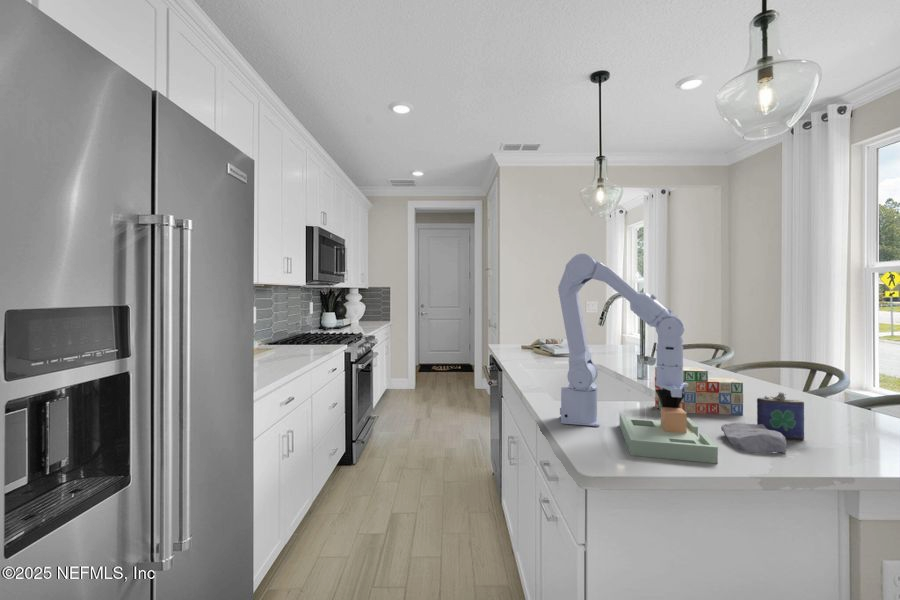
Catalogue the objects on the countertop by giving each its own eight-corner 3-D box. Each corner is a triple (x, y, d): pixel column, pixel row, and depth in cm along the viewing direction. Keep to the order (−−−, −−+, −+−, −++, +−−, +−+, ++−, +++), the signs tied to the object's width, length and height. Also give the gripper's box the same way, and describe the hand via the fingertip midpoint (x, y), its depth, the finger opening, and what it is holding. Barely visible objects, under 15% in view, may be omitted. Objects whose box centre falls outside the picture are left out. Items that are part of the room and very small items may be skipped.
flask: (801, 437, 99) (801, 392, 99) (807, 441, 96) (807, 394, 96) (755, 433, 102) (755, 389, 101) (760, 437, 99) (760, 392, 99)
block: (664, 431, 97) (665, 412, 97) (660, 425, 102) (660, 406, 101) (686, 433, 96) (686, 413, 96) (681, 427, 100) (681, 408, 100)
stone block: (742, 460, 90) (793, 454, 88) (736, 438, 90) (787, 431, 89) (716, 443, 102) (761, 437, 100) (712, 423, 102) (757, 417, 100)
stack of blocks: (732, 409, 123) (733, 367, 123) (743, 415, 117) (743, 371, 117) (654, 406, 127) (654, 365, 127) (660, 412, 121) (661, 369, 121)
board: (630, 455, 88) (630, 439, 88) (619, 425, 108) (619, 412, 108) (717, 463, 84) (717, 447, 84) (688, 430, 104) (689, 417, 104)
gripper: (696, 370, 94) (696, 430, 94) (680, 360, 108) (680, 413, 108) (662, 369, 96) (662, 428, 96) (650, 359, 110) (650, 411, 110)
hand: (669, 420), depth 102 cm, fingers closed
